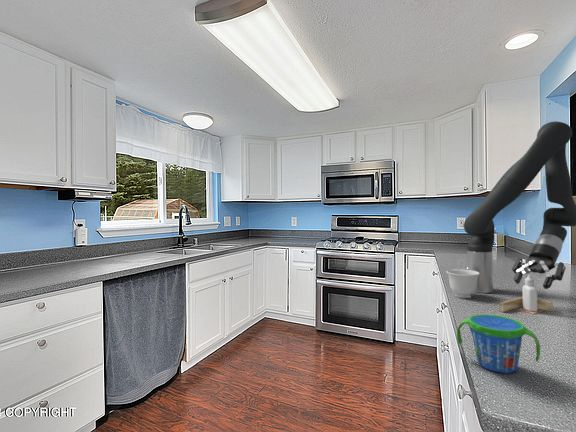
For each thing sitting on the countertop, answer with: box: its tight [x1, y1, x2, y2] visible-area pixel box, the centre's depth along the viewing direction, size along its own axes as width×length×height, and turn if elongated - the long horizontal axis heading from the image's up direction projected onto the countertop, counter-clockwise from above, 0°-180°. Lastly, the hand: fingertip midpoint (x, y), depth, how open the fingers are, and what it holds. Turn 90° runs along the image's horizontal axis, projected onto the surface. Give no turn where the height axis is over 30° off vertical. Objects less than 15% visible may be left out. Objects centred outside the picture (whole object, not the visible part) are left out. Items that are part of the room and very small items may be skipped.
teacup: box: [445, 268, 480, 299], centre depth 125 cm, size 12×15×10 cm
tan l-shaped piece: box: [498, 295, 554, 315], centre depth 104 cm, size 9×16×3 cm, turn 117°
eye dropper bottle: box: [521, 274, 538, 312], centre depth 105 cm, size 4×6×12 cm
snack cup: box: [456, 314, 541, 374], centre depth 69 cm, size 16×10×10 cm
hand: (530, 284), depth 105 cm, fingers open, 8 cm apart
